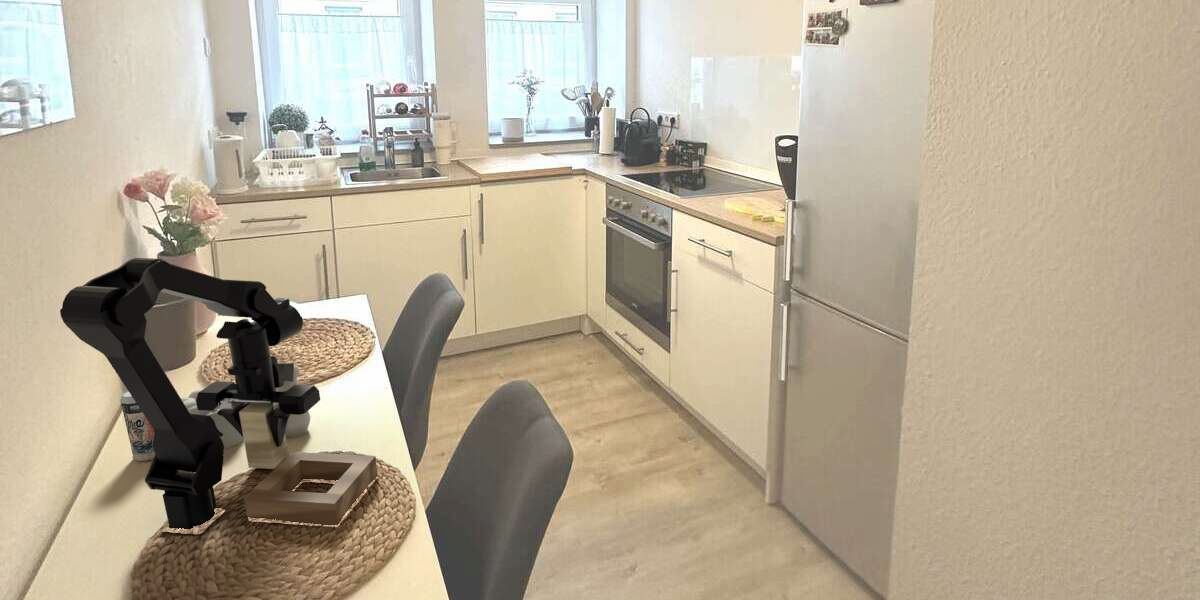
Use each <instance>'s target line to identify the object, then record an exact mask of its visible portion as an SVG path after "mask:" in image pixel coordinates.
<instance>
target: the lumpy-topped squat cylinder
mask: <svg viewBox="0 0 1200 600" xmlns="http://www.w3.org/2000/svg"><path fill="white" fill-rule="evenodd" d="M201 390H202V389H197V390H194V391H192V392H191V393H190V394H189V395H188V396H187V397H180V398H181V400H182V401H183V403H184V404H185V406H186V408H187V409H188V411H189V413H190V414H199V415H208V416H211V417H212V419H213V420H214V422H215V425H216V427H217V429H218V430H219V431H220V432H221V433H223V436H221V437H220V438H221V439H222V441H223V444H224V451H225V450H227V449H230V448H232V447H234V446H236V445H237V444H240V443H241V442H242V441H244V438H243V437H242V436H241V435H240V433H239V432H238V431H237V430H236V429H235V428H234V427H233V426H232V425H231V424H230V423H229V422H228V421H227V420H226V419H225V418H224V417H223V416H219V415H218V414H217V412H218V411H219V410H220V407H219V403H218V406H217V407H216V408H215V410H213V411H204V410H198V409H197V405H196V400H195V399H196V396H197V394H198V392H200V391H201Z"/></svg>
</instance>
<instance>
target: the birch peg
mask: <svg viewBox="0 0 1200 600" xmlns="http://www.w3.org/2000/svg"><path fill="white" fill-rule="evenodd" d="M273 407H274V406H273V404H272V403H250V404H249V405H248V406H246V407H245V408H244V409H242V410H241V411H240V412H239V415H240V421H241V427H242V432H243V438H244V440H243V442H244V449H245V454H246V458H247V459H246V460H247V464H248V468H250V469H267V470H274V469H276V468H277V467H278V466H279V465H280V464H281V463H282V462H283V461H284V460H285V459H286V458H287V457H288V456H289V455H290V454H289V450H288V443H287V437H285V435H284V439H283V443H282V445H281V446H280V447H277V446H276V444H275V442H274V439H273V435H272V432H271V429H270V425H269V422H268V419H267V414H269V413H270V412H271V411H272V410H274V408H273Z"/></svg>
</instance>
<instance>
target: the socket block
mask: <svg viewBox="0 0 1200 600" xmlns="http://www.w3.org/2000/svg"><path fill="white" fill-rule="evenodd" d="M288 455H289V456H288V457H287V458H286V459H285V460H283V461H282V462H281V463H280V464H279V465H278V466H277V467H276V468H275V469H272V471H271V472H270V473H269V474H268V475H267V476H266V477H265V478H264V479H263V480H261V482H259V483H258V484H257V485H255V487H254V488H253V489H252V490H251V491H250V492H249V493H248V494H247V495H245V496H244V497H243V500H244V506H245V512H246V518H247V517H250V518H266V519H274V520H275V519H276V520H282V521H290V522H299V523H302V522H303V523H311V524H312V523H313V524H321V525H338V524H339V522H340V521H341V519H342V517H343V516H344V515H345V513H346V512H347V511H348V509H349V508H350V506H352V504H353V503H354V502H355V501H356V499H357V498H358V497H359V496H360V495H361V494H362V493H363V491H364V490H365V489H366V488H367V487H368V485H369V484H370V483H371V482H372V481H373V480H374V479H375V478H376V477H377V476H378V477H379V475H378V467H377V465H378V464H377V457H376V455H363V454H362V455H360V454H359V455H358V454H345V453H343V454H342V453H321V452H307V451H306V452H305V451H303V452H302V451H293V452H292V453H290V454H288ZM303 479H324V480H335V481H336V480H338V481H337V482H336V483H335V484H332V486H331V487H330V489H328V491H327V492H326V493H325V492H309V491H292V490H293V489H294V488H295V487H296V486H297V485H298V484H299V483H300V482H301V481H302V480H303Z"/></svg>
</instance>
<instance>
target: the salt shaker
mask: <svg viewBox="0 0 1200 600" xmlns="http://www.w3.org/2000/svg"><path fill="white" fill-rule="evenodd" d="M299 369H300V368H299V367H298V365H297V364H295V363H294V378H293V382H290V381H283V382H284V385H283V386H282V387H280V388H277V392H284V391H287V390H289V389H290V388H291V387H292V386H294V385H300V384H299V383H300V382H299V381H298V377H299V376H300V370H299ZM310 422H311V415H310V410H308V411H307V412H306V413H304V414H301V415H294V414H290V416H289V419H288V422H287V426H286V430H285V437H286V438H297V437H301V436H303V435H305V434H306V432H307V431H308V429H309V427H310V426H309V425H310Z"/></svg>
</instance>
